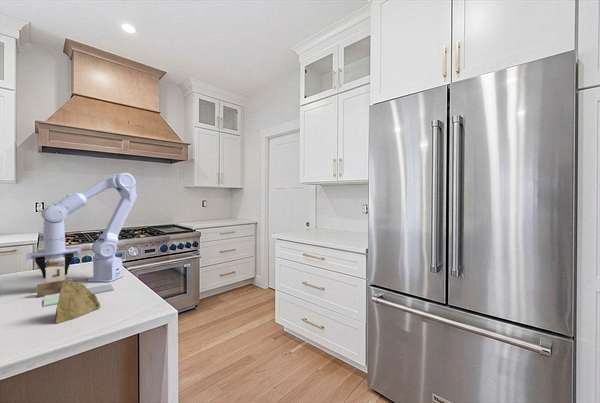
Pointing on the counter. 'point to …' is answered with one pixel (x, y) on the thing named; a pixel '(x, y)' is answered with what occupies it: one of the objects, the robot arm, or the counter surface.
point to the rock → (74, 301)
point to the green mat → (51, 301)
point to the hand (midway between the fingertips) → (55, 275)
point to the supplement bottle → (56, 260)
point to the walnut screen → (50, 288)
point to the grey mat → (100, 289)
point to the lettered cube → (55, 273)
